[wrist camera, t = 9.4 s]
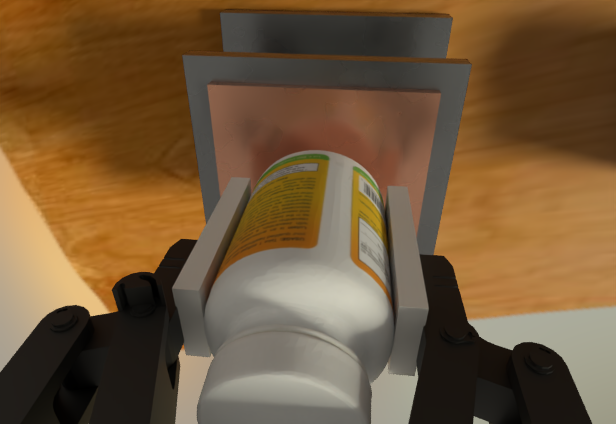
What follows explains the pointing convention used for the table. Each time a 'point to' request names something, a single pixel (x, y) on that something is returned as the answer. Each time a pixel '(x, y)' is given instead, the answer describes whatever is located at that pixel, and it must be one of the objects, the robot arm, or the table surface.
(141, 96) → the table surface
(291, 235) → the supplement bottle
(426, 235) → the stand
